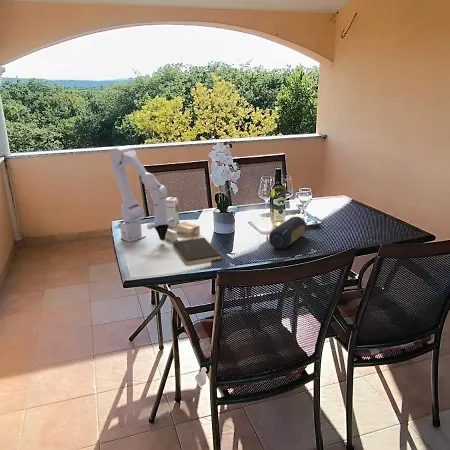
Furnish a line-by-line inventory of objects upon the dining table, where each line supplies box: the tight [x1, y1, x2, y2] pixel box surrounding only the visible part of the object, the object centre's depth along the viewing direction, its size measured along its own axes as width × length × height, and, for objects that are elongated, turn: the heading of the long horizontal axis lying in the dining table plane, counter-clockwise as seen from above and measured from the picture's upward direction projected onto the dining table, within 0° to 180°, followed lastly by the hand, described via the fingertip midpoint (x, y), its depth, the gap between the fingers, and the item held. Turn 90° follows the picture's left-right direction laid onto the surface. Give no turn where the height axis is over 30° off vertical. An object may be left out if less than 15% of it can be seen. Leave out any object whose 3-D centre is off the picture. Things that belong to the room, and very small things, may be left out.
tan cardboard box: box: [176, 221, 201, 242], centre depth 209 cm, size 16×12×4 cm
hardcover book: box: [171, 237, 223, 265], centre depth 191 cm, size 16×23×2 cm
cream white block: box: [165, 228, 180, 242], centre depth 204 cm, size 4×10×4 cm, turn 46°
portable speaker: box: [268, 216, 307, 250], centre depth 199 cm, size 25×10×10 cm, turn 147°
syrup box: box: [166, 196, 180, 228], centre depth 223 cm, size 6×6×14 cm
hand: (162, 239), depth 202 cm, fingers closed
